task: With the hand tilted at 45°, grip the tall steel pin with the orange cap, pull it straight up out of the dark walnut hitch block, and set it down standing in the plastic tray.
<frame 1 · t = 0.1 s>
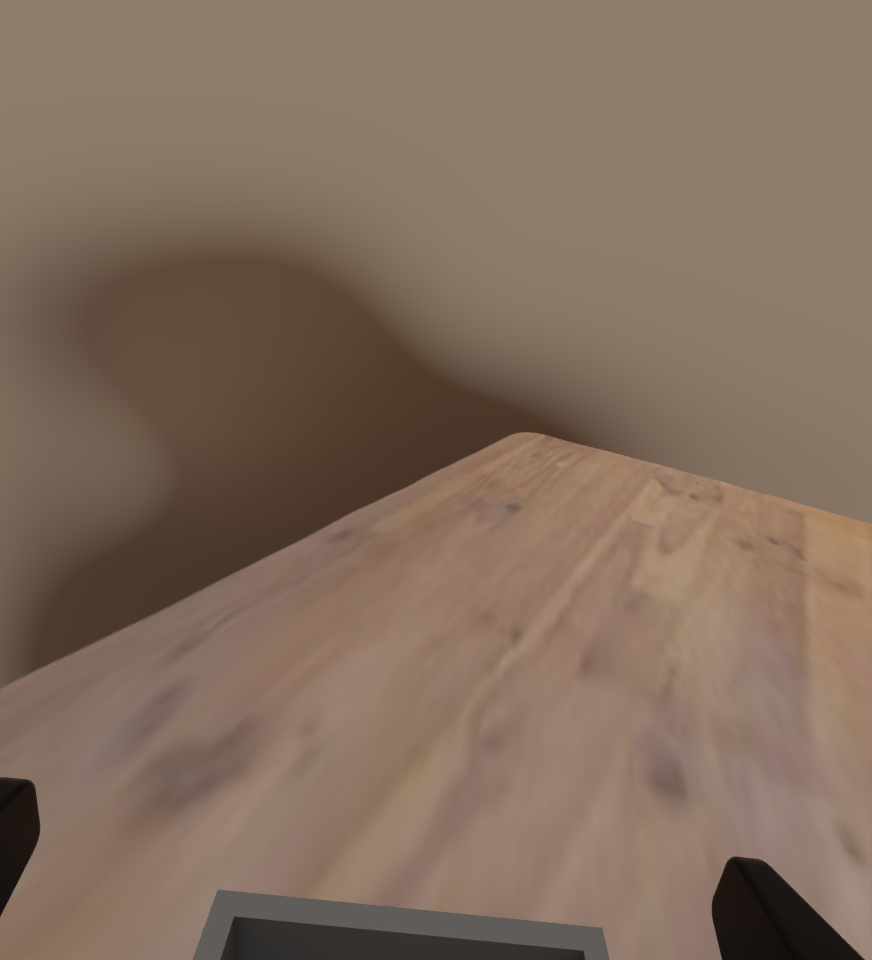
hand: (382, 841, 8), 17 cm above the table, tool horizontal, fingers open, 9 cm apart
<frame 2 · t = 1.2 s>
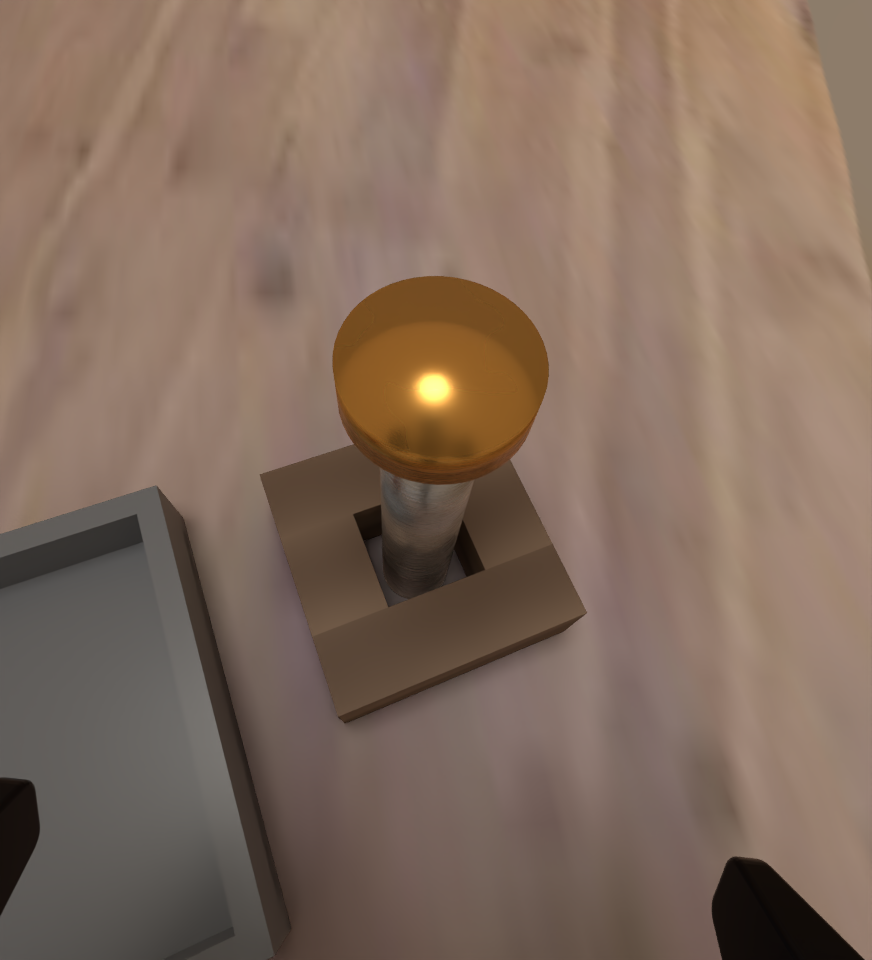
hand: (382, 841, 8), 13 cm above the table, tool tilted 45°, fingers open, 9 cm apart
hitch block: (414, 567, 23), on the table
tray: (25, 779, 20), on the table
pin: (423, 499, 17), in the hitch block
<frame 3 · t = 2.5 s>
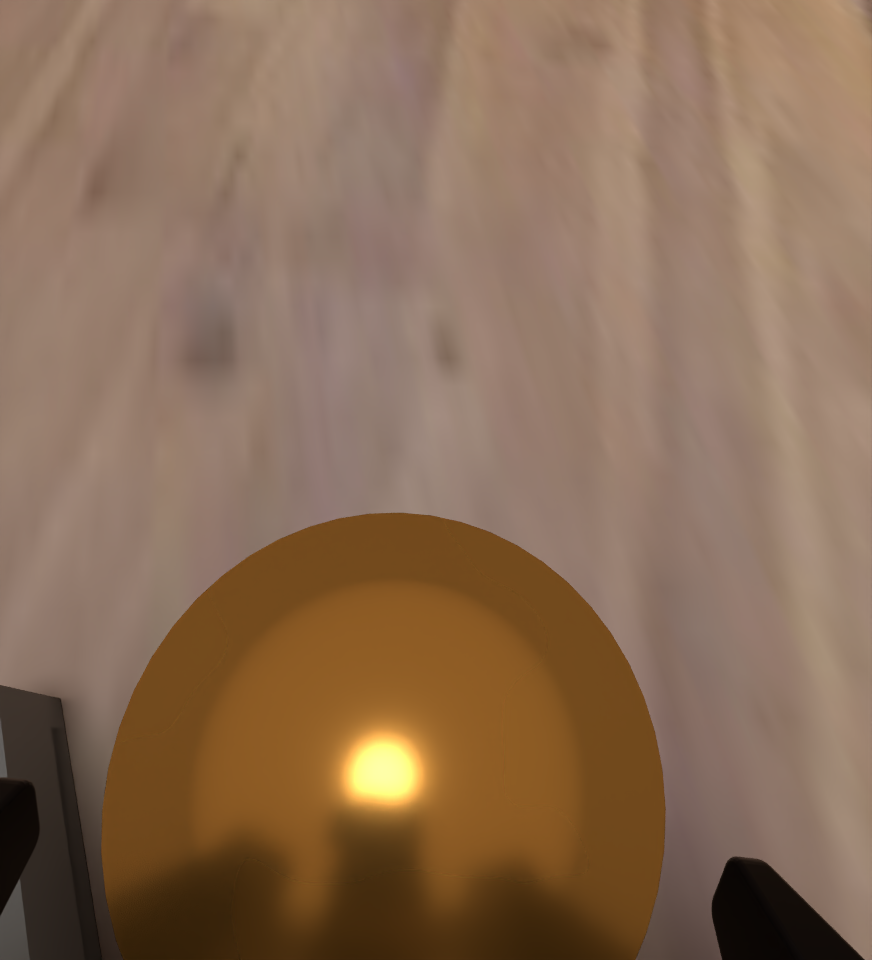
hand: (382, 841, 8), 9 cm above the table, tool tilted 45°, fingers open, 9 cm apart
pin: (390, 771, 10), in the hitch block
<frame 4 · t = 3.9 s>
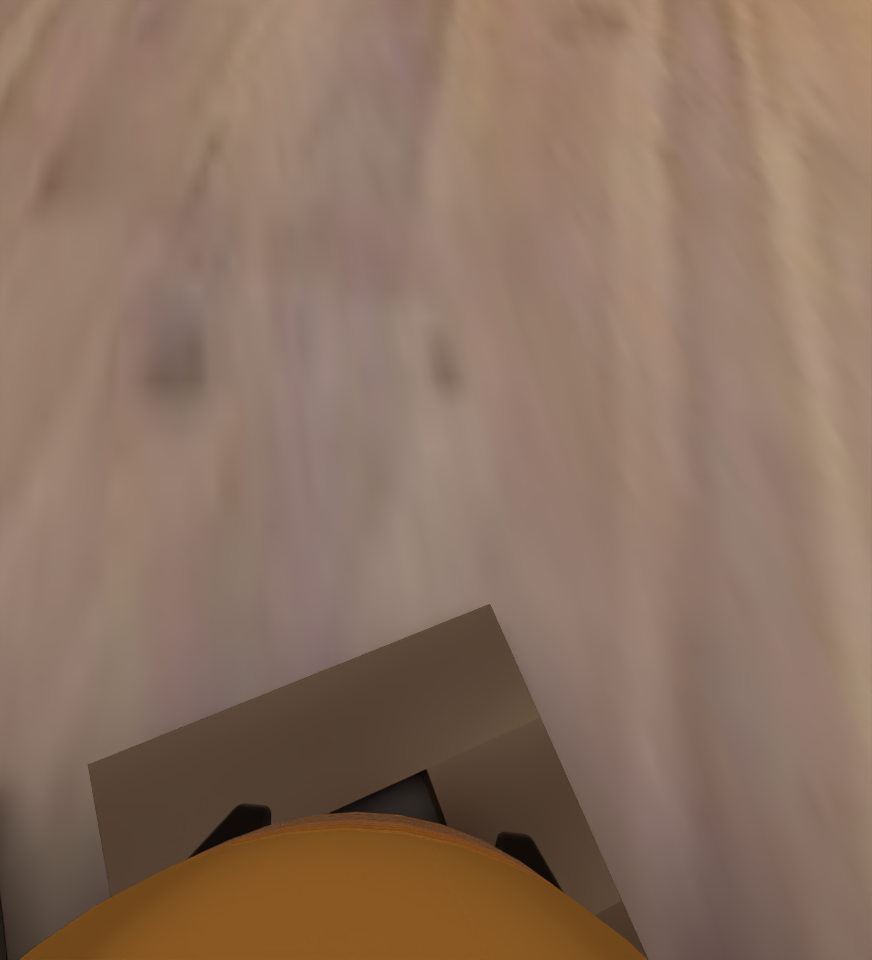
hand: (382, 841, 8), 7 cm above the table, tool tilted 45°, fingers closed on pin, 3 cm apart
hitch block: (377, 878, 14), on the table
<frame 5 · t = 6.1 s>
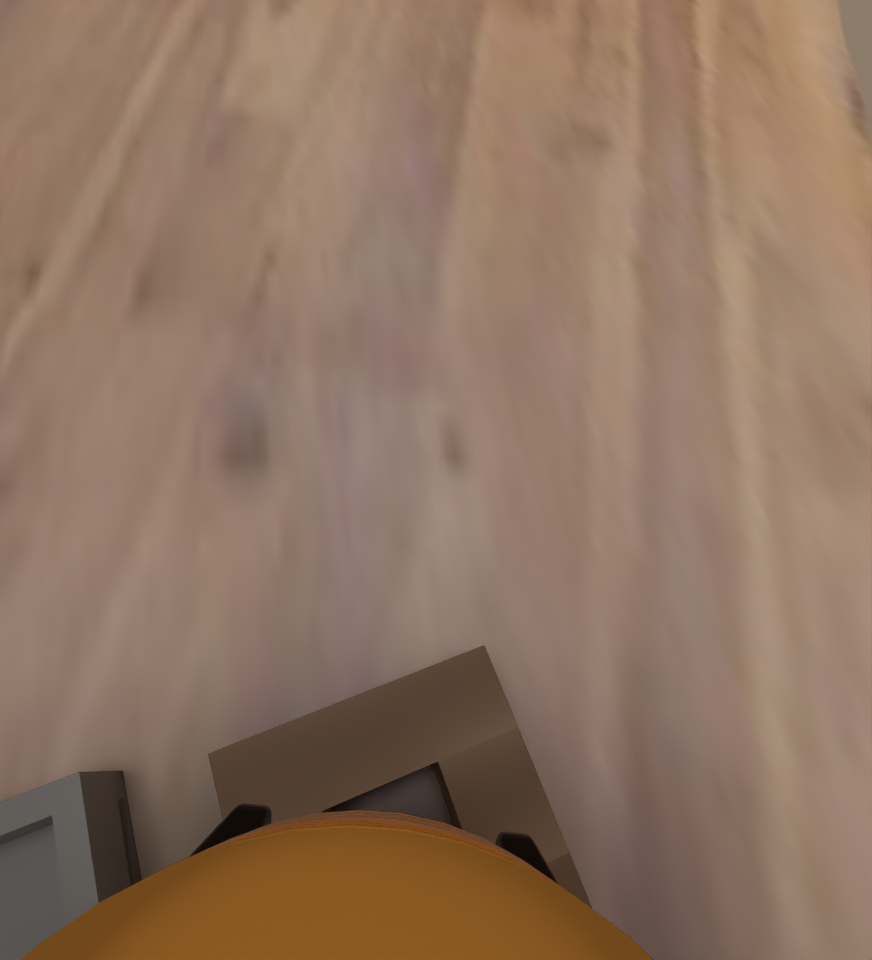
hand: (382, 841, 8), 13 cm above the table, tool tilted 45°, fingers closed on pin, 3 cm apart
hitch block: (400, 839, 19), on the table
when the fingers open (9 cm above the table, at t = 8.5 s): pin stays where it is, resting on tray.
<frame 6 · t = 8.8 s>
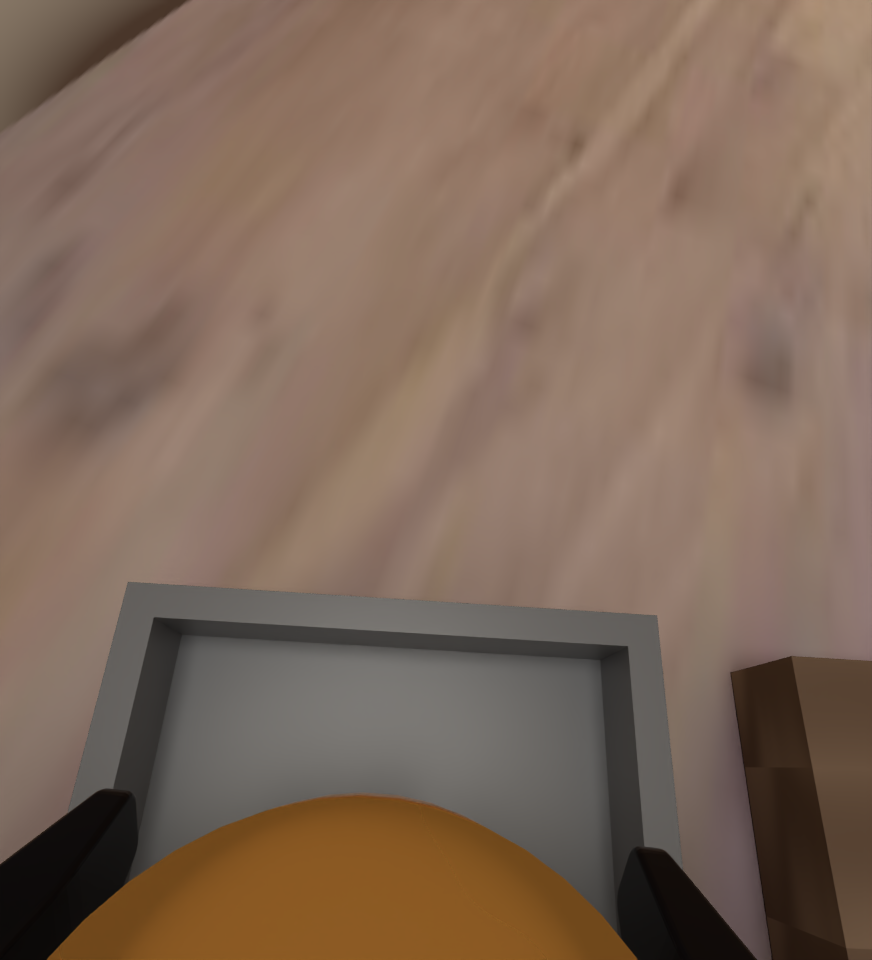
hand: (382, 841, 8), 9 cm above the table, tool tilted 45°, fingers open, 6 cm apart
tray: (374, 914, 15), on the table
pin: (368, 941, 9), in the tray, point 7 cm above the table
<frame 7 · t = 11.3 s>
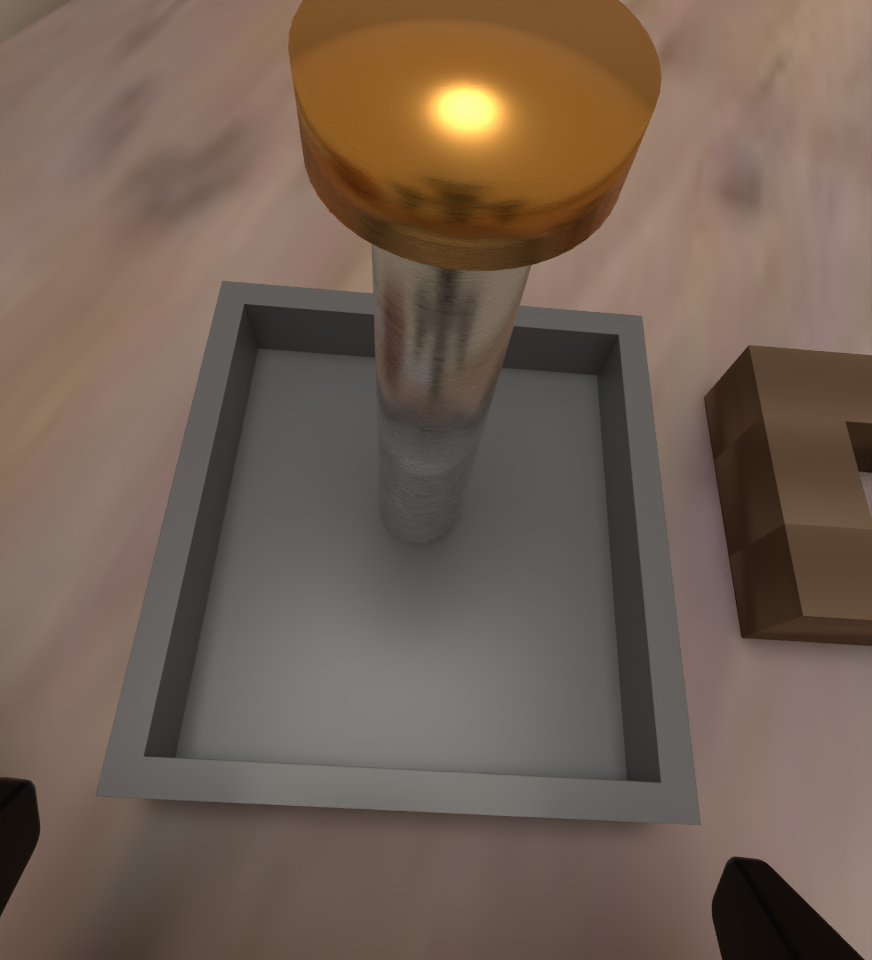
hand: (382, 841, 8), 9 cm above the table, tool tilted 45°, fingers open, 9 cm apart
hitch block: (846, 515, 20), on the table
tray: (417, 545, 19), on the table
pin: (435, 385, 13), in the tray, point 7 cm above the table
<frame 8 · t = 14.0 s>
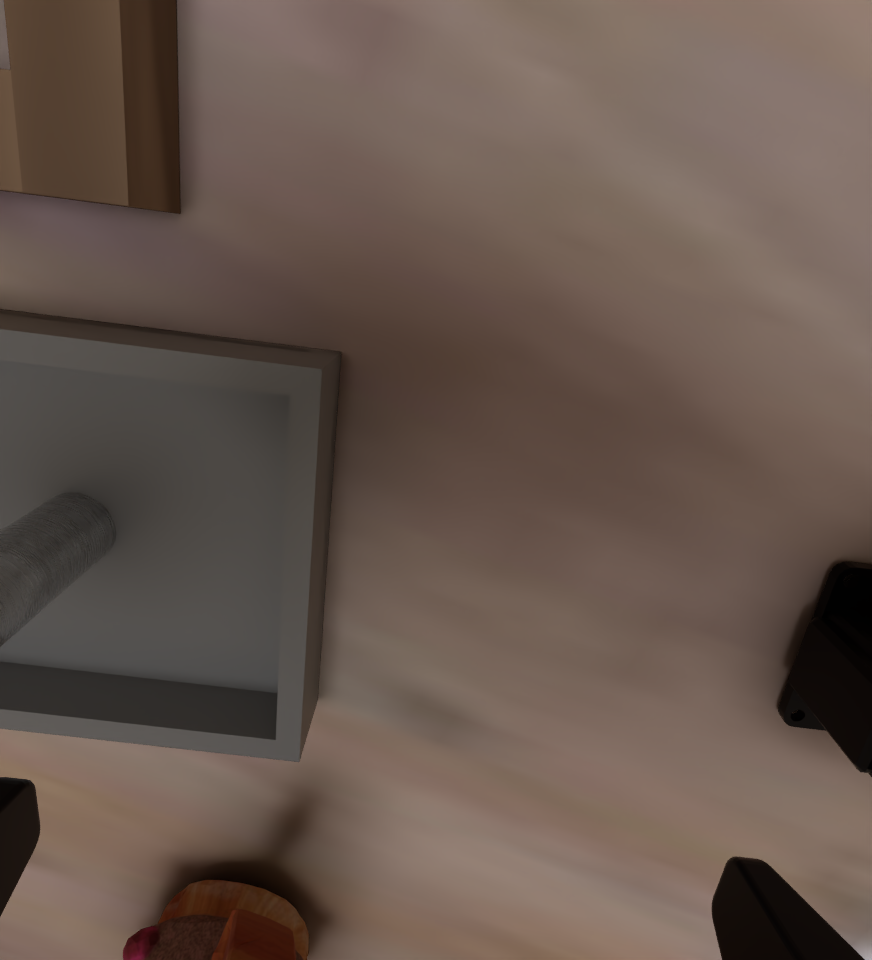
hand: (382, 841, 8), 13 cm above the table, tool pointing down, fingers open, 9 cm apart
hitch block: (14, 17, 16), on the table
mug: (259, 879, 27), on the table
tray: (120, 519, 21), on the table
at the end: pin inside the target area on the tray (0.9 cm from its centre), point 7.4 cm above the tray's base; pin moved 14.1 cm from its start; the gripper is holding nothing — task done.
